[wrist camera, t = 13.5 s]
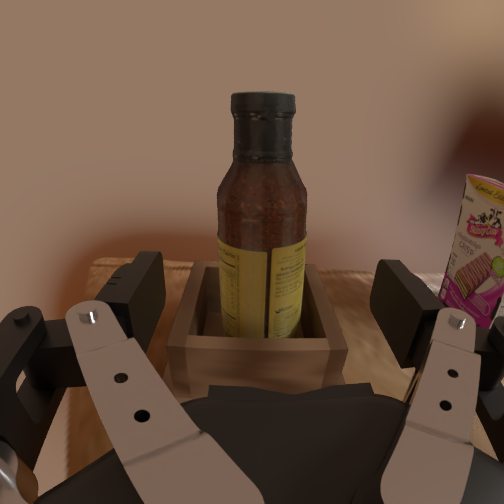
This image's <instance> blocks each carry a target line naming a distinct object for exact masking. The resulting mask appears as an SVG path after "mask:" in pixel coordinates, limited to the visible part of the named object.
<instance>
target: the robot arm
mask: <svg viewBox="0 0 504 504" xmlns="http://www.w3.org/2000/svg"><path fill="white" fill-rule="evenodd" d="M165 297H166V290H165V280H164V269H163V258H162V254H161V252H156V251H155V252H154V251H140V252H139V254H138V255H137V256H136V258H135V259H134V260H133V262H132V263H131V264H130V263H126V264H125V265H123V266H121V267H120V268H118V269H117V270H116V271H115V272H114V274H113V275H112V276H111V278H110V279H109V280H108V281H107V283H106V284H105V285H104V287H103V288H102V289H101V291H100V292H99V293H98V295H97V296H96V297H95V299H94V300H90V301H84V302H81V303H78V304H76V305H74V306H73V307H71V308H70V309H69V310H68V312H67V313H66V317H65V318H66V319H60V320H49V321H44V318H43V315H42V313H41V310H40V309H39V308H37V307H33V306H25V307H20V308H17V309H15V310H13V311H12V312H10V313H9V314H8V315H7V316H6V317H5V318H4V319H3V320H2V322H1V323H0V504H504V387H503V385H502V383H501V381H502V379H503V377H504V316H498V317H496V318H495V319H494V322H493V324H492V326H491V328H490V329H487V328H481V327H476V323H475V321H474V319H473V318H472V317H471V316H470V315H469V314H467V313H466V312H464V311H462V310H459V309H456V308H446V307H445V306H444V305H443V304H442V302H441V301H440V300H439V299H438V298H437V297H436V296H435V294H434V293H432V291H431V290H430V289H429V288H428V287H427V285H426V284H425V283H424V282H423V281H422V280H421V279H420V278H419V277H417V276H415V275H414V274H412V273H411V272H410V271H409V270H408V269H407V268H406V267H405V266H404V264H403V263H402V262H401V261H400V260H385V259H384V260H383V259H382V260H380V261H379V263H378V265H377V269H376V273H375V278H374V282H373V287H372V291H371V295H370V309H371V312H372V314H373V316H374V318H375V319H376V321H377V323H378V325H379V327H380V329H381V331H382V332H383V334H384V336H385V338H386V340H387V342H388V344H389V346H390V348H391V350H392V352H393V353H394V355H395V357H396V359H397V361H398V363H399V365H400V367H401V369H403V368H411V367H415V372H414V374H413V376H412V378H411V381H410V384H409V386H408V389H407V391H406V394H405V396H404V398H403V401H400V400H398V399H395V398H392V397H388V396H385V395H380V394H374V392H373V389H372V387H371V384H370V383H359V384H346V385H333V386H329V387H325V388H321V389H317V390H313V391H309V392H304V393H300V394H286V393H281V392H275V391H270V390H265V389H260V388H255V387H248V386H221V385H209V389H208V397H202V398H197V399H193V400H189V401H186V402H183V403H181V404H179V403H178V401H177V400H176V398H175V397H174V396H173V394H172V393H171V392H170V390H169V389H168V387H167V386H166V384H165V383H164V382H163V380H162V379H161V377H160V376H159V374H158V373H157V371H156V370H155V369H154V367H153V366H152V364H151V363H150V361H149V360H148V358H147V356H146V355H145V354H146V351H147V348H148V346H149V343H150V341H151V338H152V335H153V333H154V330H155V328H156V325H157V323H158V320H159V318H160V315H161V313H162V310H163V308H164V305H165ZM22 370H23V371H24V373H25V375H26V378H25V379H24V381H23V383H22V385H21V386H20V388H19V390H18V392H17V393H16V381H17V378H18V377H19V375H20V373H21V372H22ZM81 386H87V387H88V389H89V392H90V395H91V397H92V400H93V402H94V404H95V407H96V409H97V412H98V414H99V416H100V419H101V421H102V423H103V425H104V428H105V430H106V432H107V434H108V436H109V438H110V440H111V442H112V445H113V447H114V448H113V449H112V450H110V451H109V452H107V453H106V454H104V455H103V456H102V457H100V458H99V459H97V460H96V461H94V462H93V463H91V464H90V465H88V466H87V467H85V468H83V469H82V470H80V471H79V472H77V473H76V474H74V475H73V476H71V477H69V478H68V479H66V480H65V481H63V482H62V483H60V484H58V485H57V486H55V487H53V488H52V489H50V490H49V491H47V492H45V493H44V494H43V495H41V496H40V497H38V482H37V479H36V476H35V475H34V473H33V470H34V467H35V464H36V462H37V459H38V456H39V453H40V451H41V448H42V446H43V443H44V440H45V438H46V435H47V433H48V430H49V428H50V425H51V423H52V421H53V418H54V416H55V414H56V411H57V409H58V407H59V404H60V402H61V400H62V397H63V395H64V393H65V391H66V389H67V387H81ZM475 411H476V413H477V415H478V417H479V419H480V421H481V423H482V425H483V427H484V429H485V432H486V434H487V436H488V438H489V440H490V442H491V444H492V447H493V449H494V451H495V453H496V456H497V458H498V460H499V461H497V460H496V459H494V458H492V457H491V456H489V455H487V454H486V453H484V452H482V451H481V450H479V449H478V448H476V447H474V446H473V444H472V443H471V441H470V439H471V433H472V428H473V422H474V416H475Z"/></svg>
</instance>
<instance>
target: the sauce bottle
mask: <svg viewBox="0 0 504 504" xmlns="http://www.w3.org/2000/svg"><path fill="white" fill-rule="evenodd" d="M231 113H232V115H233V118H234V150H233V163H232V165H231V167H230V169H229V170H228V172H227V174H226V175H225V177H224V179H223V180H222V182H221V184H220V186H219V188H218V192H217V207H218V233H217V239H218V258H219V279H220V298H221V316H222V333H223V337H237V338H298V335H299V327H300V316H301V305H302V294H303V284H304V270H305V253H306V241H307V232H306V214H307V191H306V188H305V186H304V185H303V183H302V181H301V179H300V176H299V174H298V172H297V169H296V167H295V165H294V163H293V161H292V156H293V152H292V149H291V144H292V141H291V137H292V131H291V130H292V119H293V116H294V114H295V113H296V108H295V96H294V94H291V93H285V92H271V91H256V92H238V93H233V94H232V95H231Z"/></svg>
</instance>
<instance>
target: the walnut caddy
mask: <svg viewBox="0 0 504 504" xmlns="http://www.w3.org/2000/svg"><path fill="white" fill-rule="evenodd" d="M166 349H167V355H168V360H167V363H166V367H165V370H164V374H163V377H162V380H163V382H164V383H165V384H166V386H167V387H168V389H169V390H170V392H171V393H172V394H173V396H174V397H175V398H176V400H177V401H178V403H179V404H181V403H183V402H186V401H189V400H193V399H197V398H202V397H208V389H209V385H221V386H248V387H255V388H260V389H265V390H270V391H275V392H281V393H286V394H300V393H304V392H309V391H313V390H317V389H321V388H325V387H329V386H333V385H346V384H345V381H344V378H343V374H342V370H343V366H344V363H345V359H346V356H347V352H348V347H347V344H346V342H345V339H344V336H343V334H342V331H341V328H340V326H339V323H338V321H337V318H336V315H335V313H334V310H333V308H332V305H331V303H330V300H329V298H328V295H327V293H326V290H325V288H324V285H323V283H322V280H321V278H320V275H319V273H318V270H317V268H316V266H315V264H305V270H304V284H303V294H302V305H301V316H300V327H299V335H298V338H237V337H223V333H222V316H221V298H220V279H219V261H194V264H193V267H192V270H191V272H190V275H189V278H188V281H187V284H186V287H185V290H184V293H183V295H182V298H181V301H180V304H179V307H178V310H177V313H176V316H175V319H174V322H173V325H172V328H171V332H170V335H169V338H168V341H167V344H166Z"/></svg>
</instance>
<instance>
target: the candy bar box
mask: <svg viewBox="0 0 504 504" xmlns="http://www.w3.org/2000/svg"><path fill="white" fill-rule="evenodd" d="M438 298H439V299H440V300H441V301H442V303H443V304H444V305H445V306H446V307H447V308H456V309H459V310H462V311H464V312H466V313H467V314H469V315H470V316H471V317H472V318H473V319H474V321H475V323H476V327H481V328H487V329H490V328H491V326H492V324H493V322H494V319H495V318H496V317H498V316H504V183H501V182H499V181H497V180H494V179H491V178H488V177H483V176H479V175H478V176H477V175H474V174H467V175H466V183H465V188H464V194H463V199H462V206H461V210H460V215H459V220H458V224H457V229H456V234H455V238H454V242H453V246H452V250H451V254H450V258H449V262H448V265H447V268H446V272H445V276H444V279H443V282H442V285H441V288H440V292H439V295H438Z"/></svg>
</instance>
